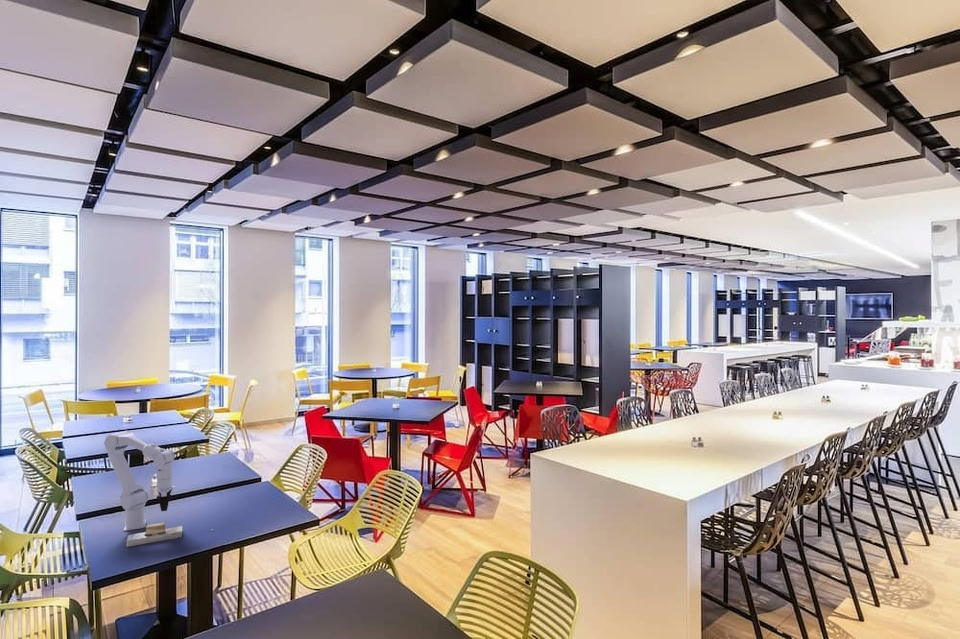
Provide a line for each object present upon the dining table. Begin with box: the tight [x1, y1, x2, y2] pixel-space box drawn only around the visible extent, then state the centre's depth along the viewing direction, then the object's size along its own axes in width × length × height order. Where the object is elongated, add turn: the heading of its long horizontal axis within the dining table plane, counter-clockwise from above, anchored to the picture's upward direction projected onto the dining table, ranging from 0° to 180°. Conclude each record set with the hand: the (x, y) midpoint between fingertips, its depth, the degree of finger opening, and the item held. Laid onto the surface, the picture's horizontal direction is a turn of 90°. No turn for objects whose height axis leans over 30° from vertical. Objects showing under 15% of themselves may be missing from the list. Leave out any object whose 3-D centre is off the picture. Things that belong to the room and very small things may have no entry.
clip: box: [145, 521, 166, 536], centre depth 225 cm, size 3×7×6 cm, turn 119°
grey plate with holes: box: [126, 525, 183, 548], centre depth 225 cm, size 7×20×2 cm, turn 119°
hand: (164, 508), depth 236 cm, fingers open, 7 cm apart
